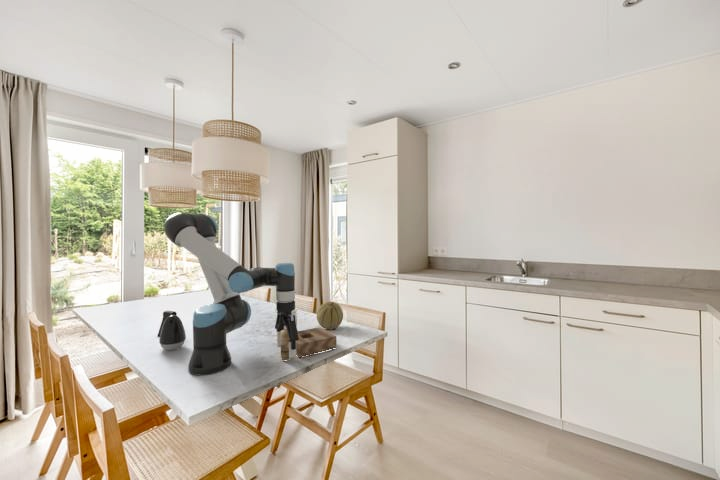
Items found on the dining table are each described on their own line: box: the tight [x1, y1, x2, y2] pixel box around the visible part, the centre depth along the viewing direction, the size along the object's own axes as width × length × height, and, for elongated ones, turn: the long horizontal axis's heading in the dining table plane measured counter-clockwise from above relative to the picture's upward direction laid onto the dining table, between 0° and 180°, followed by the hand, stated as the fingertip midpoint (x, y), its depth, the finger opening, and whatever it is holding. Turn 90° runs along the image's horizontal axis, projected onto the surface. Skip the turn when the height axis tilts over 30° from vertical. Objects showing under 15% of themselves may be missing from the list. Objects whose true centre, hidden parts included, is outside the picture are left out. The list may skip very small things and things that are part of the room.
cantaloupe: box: [316, 301, 344, 330], centre depth 169 cm, size 15×15×15 cm
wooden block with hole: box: [296, 326, 337, 358], centre depth 141 cm, size 18×16×6 cm
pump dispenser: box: [159, 315, 187, 352], centre depth 140 cm, size 10×10×15 cm
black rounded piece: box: [157, 310, 178, 338], centre depth 159 cm, size 9×6×12 cm, turn 159°
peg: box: [280, 329, 291, 361], centre depth 128 cm, size 4×4×12 cm
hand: (286, 351), depth 128 cm, fingers open, 13 cm apart
